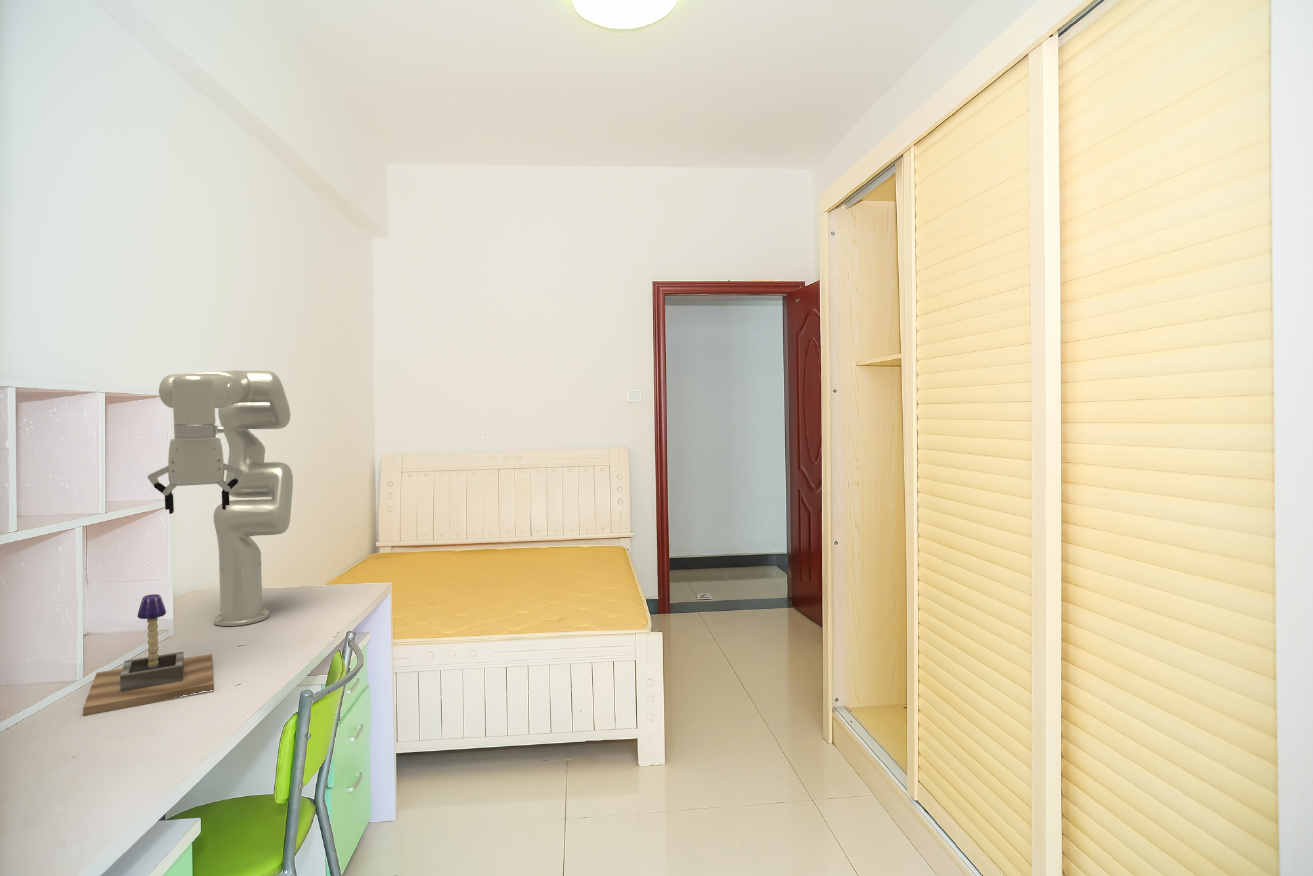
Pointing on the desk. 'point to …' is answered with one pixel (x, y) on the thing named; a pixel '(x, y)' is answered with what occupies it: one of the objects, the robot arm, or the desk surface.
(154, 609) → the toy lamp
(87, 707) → the socket board
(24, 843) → the desk surface
